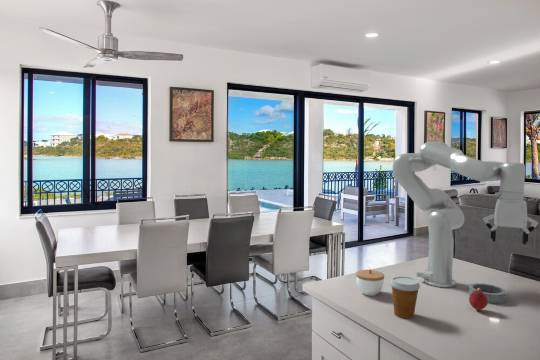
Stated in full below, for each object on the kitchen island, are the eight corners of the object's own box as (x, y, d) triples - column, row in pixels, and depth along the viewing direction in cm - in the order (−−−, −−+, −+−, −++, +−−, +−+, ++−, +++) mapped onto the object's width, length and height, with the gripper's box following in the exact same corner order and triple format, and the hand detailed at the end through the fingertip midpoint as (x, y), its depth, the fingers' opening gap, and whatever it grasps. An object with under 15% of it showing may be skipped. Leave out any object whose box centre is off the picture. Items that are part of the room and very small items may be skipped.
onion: (486, 315, 135) (487, 292, 134) (467, 311, 138) (468, 289, 137) (487, 309, 140) (488, 287, 139) (469, 306, 143) (470, 284, 142)
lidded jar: (388, 292, 155) (389, 269, 155) (375, 300, 147) (375, 275, 147) (364, 286, 163) (364, 264, 162) (350, 293, 155) (350, 269, 154)
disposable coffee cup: (406, 323, 128) (407, 287, 127) (383, 312, 136) (384, 278, 135) (424, 316, 133) (426, 282, 132) (401, 307, 141) (403, 274, 140)
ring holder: (477, 303, 145) (478, 293, 145) (463, 291, 157) (464, 283, 157) (511, 304, 145) (511, 295, 144) (495, 292, 157) (495, 284, 156)
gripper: (485, 196, 144) (482, 242, 146) (541, 198, 137) (538, 247, 139) (483, 194, 151) (481, 238, 153) (537, 196, 144) (534, 242, 146)
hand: (508, 242), depth 146 cm, fingers open, 9 cm apart
